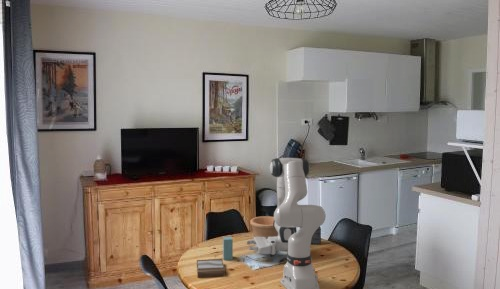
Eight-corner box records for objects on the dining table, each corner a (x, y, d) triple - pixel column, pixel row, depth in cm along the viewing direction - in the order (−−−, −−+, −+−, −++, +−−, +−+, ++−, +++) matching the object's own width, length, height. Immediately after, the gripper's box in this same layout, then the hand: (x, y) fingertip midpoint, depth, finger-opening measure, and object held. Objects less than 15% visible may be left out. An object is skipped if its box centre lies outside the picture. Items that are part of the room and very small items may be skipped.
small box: (320, 241, 264) (320, 225, 263) (321, 244, 258) (321, 228, 257) (304, 240, 265) (304, 225, 264) (304, 244, 259) (304, 228, 258)
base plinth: (224, 275, 209) (224, 269, 209) (197, 277, 207) (197, 271, 207) (222, 263, 225) (222, 258, 225) (196, 265, 223) (196, 259, 223)
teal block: (232, 259, 232) (232, 239, 230) (223, 260, 231) (223, 239, 230) (231, 256, 237) (231, 236, 235) (223, 256, 236) (223, 236, 235)
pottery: (249, 248, 251) (249, 225, 250) (250, 236, 273) (250, 215, 272) (284, 248, 250) (284, 225, 249) (282, 237, 272) (283, 216, 271)
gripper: (267, 233, 247) (245, 234, 245) (275, 244, 227) (251, 246, 225) (267, 243, 248) (245, 244, 245) (275, 255, 227) (250, 257, 225)
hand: (248, 245), depth 235 cm, fingers open, 8 cm apart
